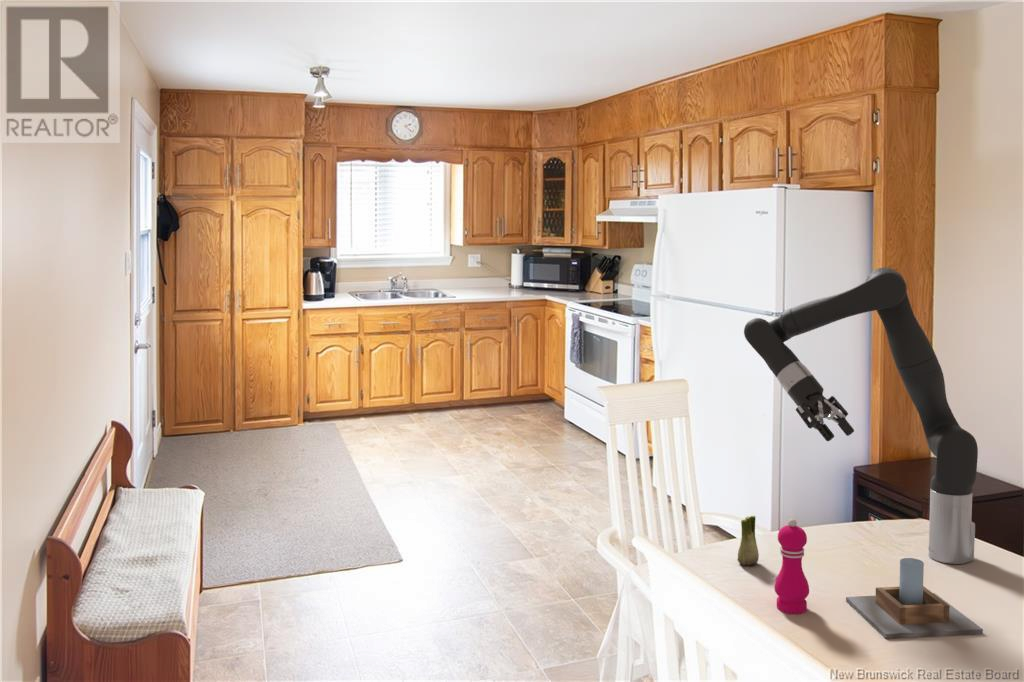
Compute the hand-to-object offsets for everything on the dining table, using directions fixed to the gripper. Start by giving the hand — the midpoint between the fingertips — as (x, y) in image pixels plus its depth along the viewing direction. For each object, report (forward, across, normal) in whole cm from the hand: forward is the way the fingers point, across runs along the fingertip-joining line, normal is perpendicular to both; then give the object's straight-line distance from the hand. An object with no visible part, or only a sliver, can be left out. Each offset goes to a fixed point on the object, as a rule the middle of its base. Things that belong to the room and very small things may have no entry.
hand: (841, 436), depth 203 cm
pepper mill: (+27, -28, +19) cm, 44 cm away
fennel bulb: (+12, -14, +35) cm, 39 cm away
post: (+40, -13, +5) cm, 42 cm away
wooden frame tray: (+41, -13, +6) cm, 43 cm away
